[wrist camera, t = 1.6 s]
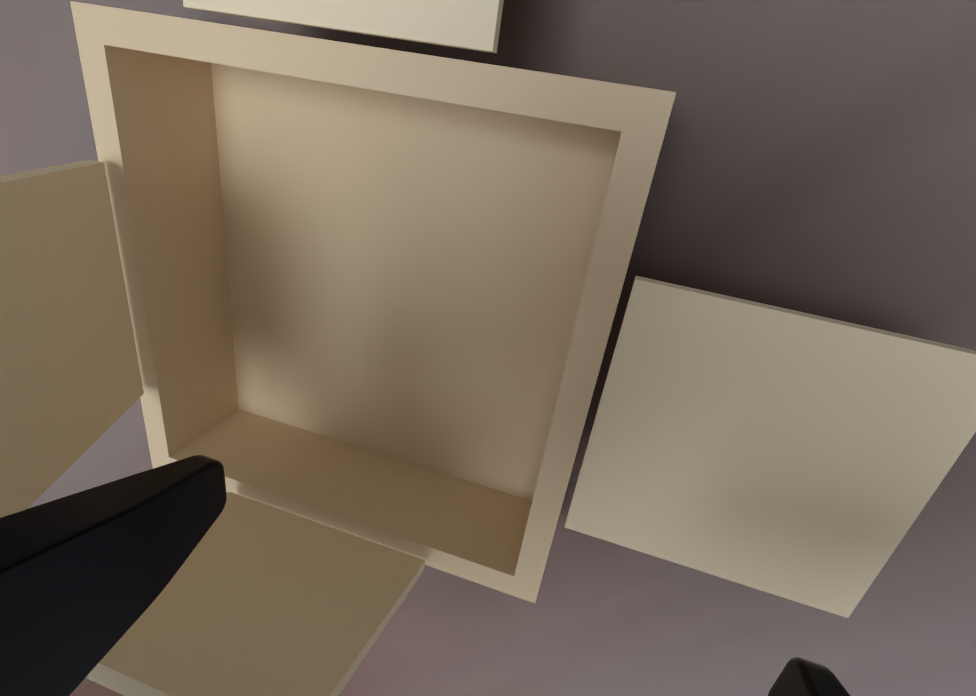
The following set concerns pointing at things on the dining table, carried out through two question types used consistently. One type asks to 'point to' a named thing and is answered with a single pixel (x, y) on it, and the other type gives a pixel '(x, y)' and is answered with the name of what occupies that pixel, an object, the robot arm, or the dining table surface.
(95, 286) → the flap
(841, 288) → the dining table surface
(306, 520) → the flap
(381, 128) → the carton
